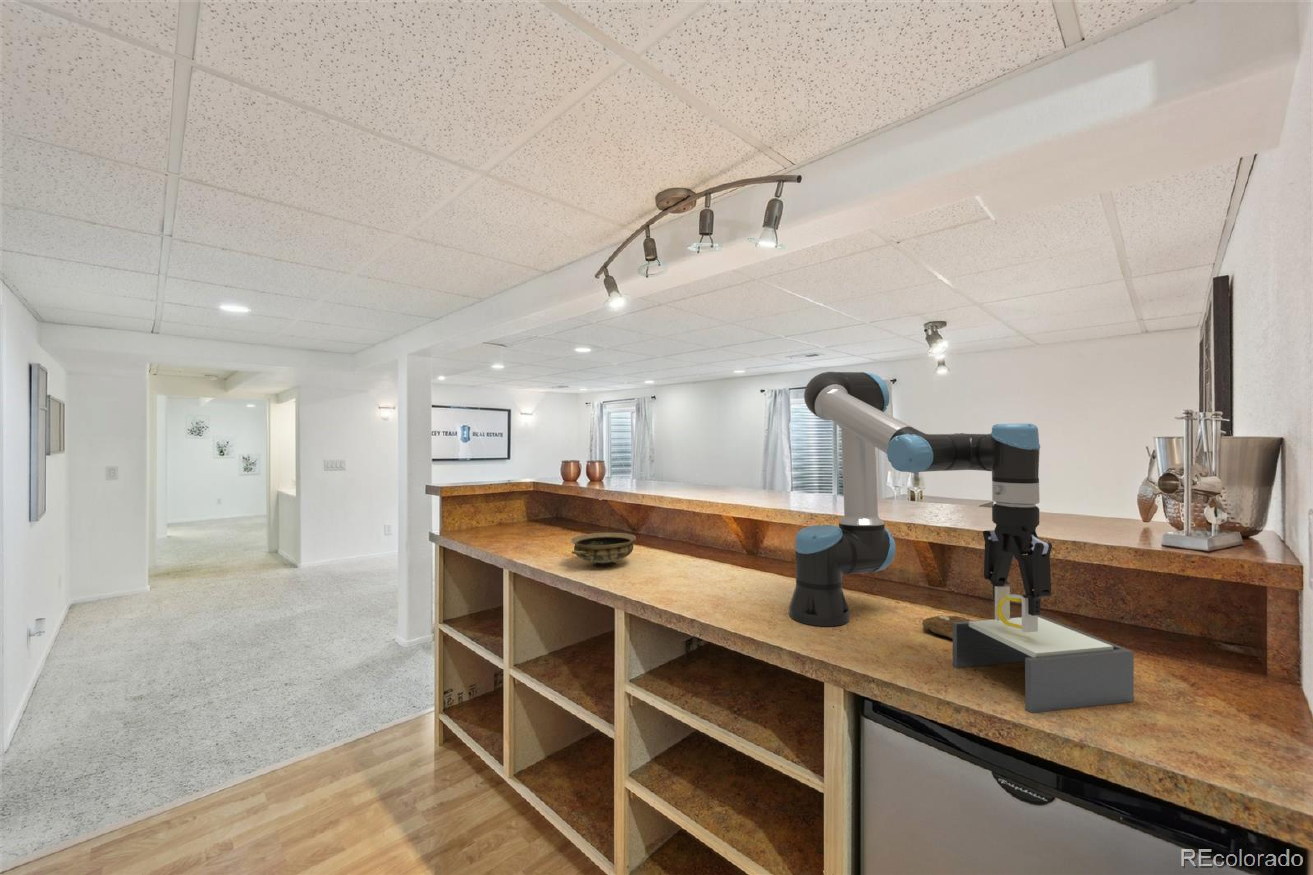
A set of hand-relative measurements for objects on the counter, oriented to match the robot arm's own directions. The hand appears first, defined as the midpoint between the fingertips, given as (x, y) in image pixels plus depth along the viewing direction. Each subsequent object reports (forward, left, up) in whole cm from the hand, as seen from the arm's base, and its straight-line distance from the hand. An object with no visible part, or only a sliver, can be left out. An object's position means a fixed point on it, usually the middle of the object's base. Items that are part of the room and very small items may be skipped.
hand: (1015, 624), depth 102 cm
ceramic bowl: (-109, -72, -12) cm, 131 cm away
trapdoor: (0, +4, -2) cm, 5 cm away
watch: (0, 0, -1) cm, 1 cm away
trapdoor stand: (0, +4, -11) cm, 12 cm away
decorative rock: (-24, +7, -12) cm, 28 cm away
